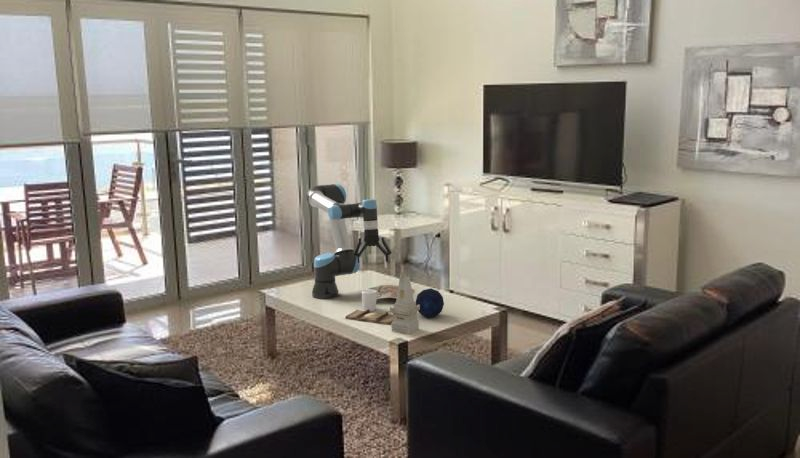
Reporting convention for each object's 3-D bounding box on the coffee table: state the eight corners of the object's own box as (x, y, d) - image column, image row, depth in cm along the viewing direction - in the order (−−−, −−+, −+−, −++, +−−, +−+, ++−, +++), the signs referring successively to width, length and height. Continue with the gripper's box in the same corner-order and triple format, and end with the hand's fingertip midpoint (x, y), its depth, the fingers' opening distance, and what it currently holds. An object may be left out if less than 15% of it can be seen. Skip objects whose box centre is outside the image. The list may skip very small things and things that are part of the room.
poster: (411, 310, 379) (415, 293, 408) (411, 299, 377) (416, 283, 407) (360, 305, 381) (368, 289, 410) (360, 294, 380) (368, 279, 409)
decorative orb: (454, 307, 353) (441, 281, 358) (434, 313, 343) (420, 286, 347) (438, 318, 363) (425, 293, 367) (417, 325, 353) (405, 299, 357)
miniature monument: (390, 331, 333) (389, 270, 328) (401, 325, 342) (400, 265, 337) (409, 334, 328) (408, 273, 323) (420, 328, 337) (419, 268, 332)
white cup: (379, 309, 370) (379, 290, 368) (369, 312, 364) (369, 294, 362) (369, 306, 375) (368, 288, 373) (358, 309, 369) (358, 291, 367)
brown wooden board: (345, 318, 354) (345, 314, 354) (357, 312, 365) (357, 307, 364) (389, 324, 343) (389, 320, 343) (400, 318, 354) (400, 313, 353)
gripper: (346, 230, 368) (349, 270, 370) (392, 228, 362) (394, 268, 364) (350, 228, 375) (353, 267, 377) (395, 226, 369) (398, 266, 371)
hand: (373, 268), depth 371 cm, fingers open, 13 cm apart
